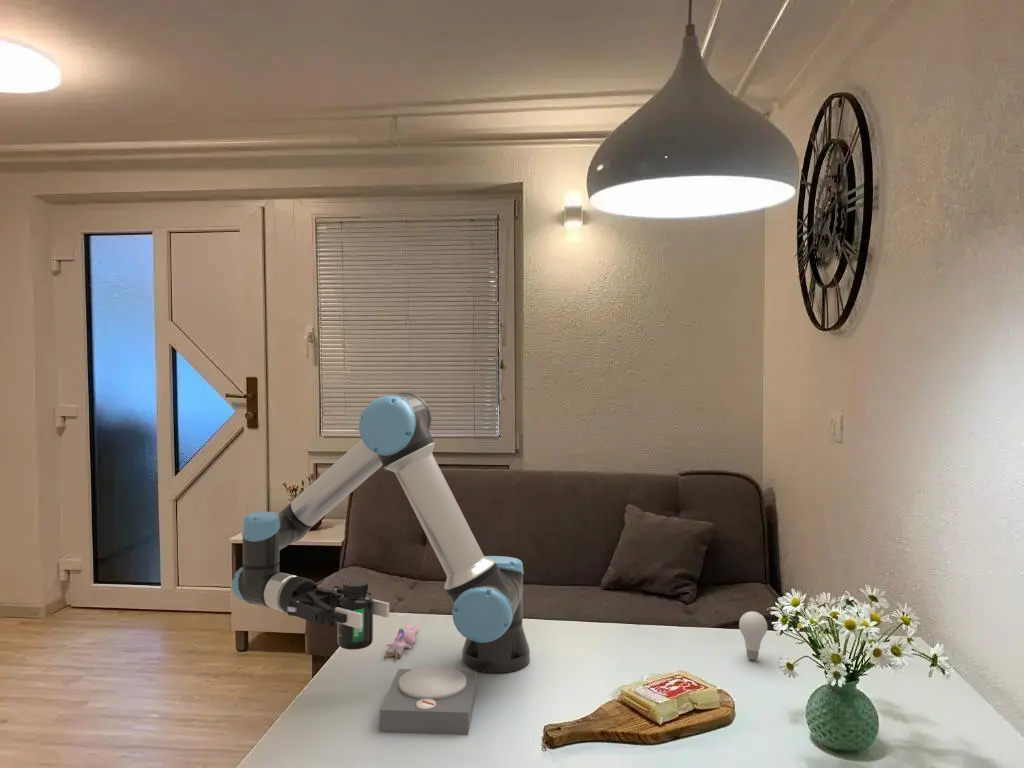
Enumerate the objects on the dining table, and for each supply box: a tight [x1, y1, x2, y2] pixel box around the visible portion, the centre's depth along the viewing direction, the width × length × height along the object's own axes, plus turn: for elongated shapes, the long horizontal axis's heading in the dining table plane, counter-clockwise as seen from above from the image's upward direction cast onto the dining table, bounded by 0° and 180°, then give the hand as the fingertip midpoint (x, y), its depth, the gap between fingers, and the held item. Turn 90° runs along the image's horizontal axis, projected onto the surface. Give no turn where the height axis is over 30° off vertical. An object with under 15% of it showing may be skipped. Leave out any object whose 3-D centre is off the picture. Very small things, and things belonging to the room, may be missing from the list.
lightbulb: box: [738, 610, 768, 661], centre depth 171 cm, size 6×6×11 cm
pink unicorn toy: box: [384, 624, 422, 662], centre depth 175 cm, size 6×6×15 cm
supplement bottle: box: [336, 579, 374, 651], centre depth 148 cm, size 7×7×12 cm
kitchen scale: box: [379, 665, 478, 735], centre depth 145 cm, size 18×16×5 cm
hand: (374, 615), depth 145 cm, fingers closed on supplement bottle, 7 cm apart
